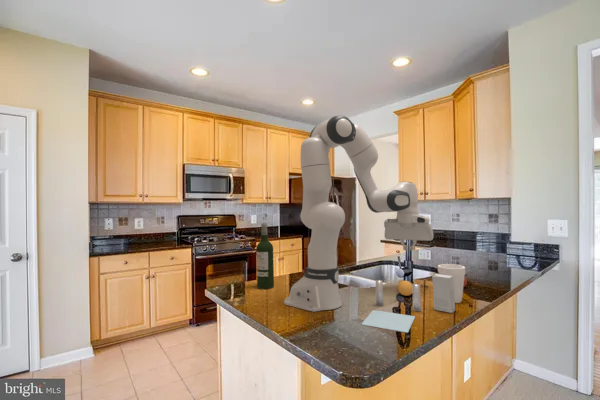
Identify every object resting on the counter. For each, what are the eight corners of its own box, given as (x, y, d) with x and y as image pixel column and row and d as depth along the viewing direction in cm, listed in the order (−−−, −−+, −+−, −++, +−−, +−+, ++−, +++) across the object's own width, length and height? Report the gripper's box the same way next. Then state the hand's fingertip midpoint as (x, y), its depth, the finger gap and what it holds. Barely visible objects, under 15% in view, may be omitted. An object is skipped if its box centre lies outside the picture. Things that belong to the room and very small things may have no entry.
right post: (412, 310, 106) (411, 284, 106) (413, 308, 108) (412, 283, 108) (420, 311, 105) (419, 285, 105) (421, 309, 107) (420, 283, 107)
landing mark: (361, 324, 95) (361, 324, 95) (373, 310, 107) (373, 310, 107) (407, 332, 88) (407, 332, 88) (415, 316, 100) (415, 316, 100)
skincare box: (455, 310, 105) (454, 275, 106) (451, 313, 102) (450, 277, 102) (437, 306, 110) (436, 273, 110) (432, 309, 106) (431, 275, 107)
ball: (396, 296, 122) (396, 281, 123) (399, 292, 128) (399, 278, 128) (412, 298, 120) (411, 283, 120) (414, 294, 125) (414, 279, 125)
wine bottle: (254, 288, 140) (252, 223, 140) (261, 284, 147) (260, 222, 148) (269, 289, 137) (268, 223, 138) (276, 285, 144) (275, 222, 145)
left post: (375, 305, 112) (374, 281, 112) (377, 303, 115) (376, 279, 115) (382, 306, 111) (381, 281, 111) (384, 304, 113) (383, 280, 114)
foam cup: (469, 304, 111) (468, 269, 111) (442, 303, 112) (441, 268, 113) (461, 296, 120) (460, 264, 120) (436, 296, 122) (435, 263, 122)
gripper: (382, 219, 135) (383, 250, 135) (431, 219, 125) (432, 252, 125) (385, 218, 141) (386, 248, 140) (433, 218, 131) (434, 250, 130)
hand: (408, 250), depth 133 cm, fingers closed
